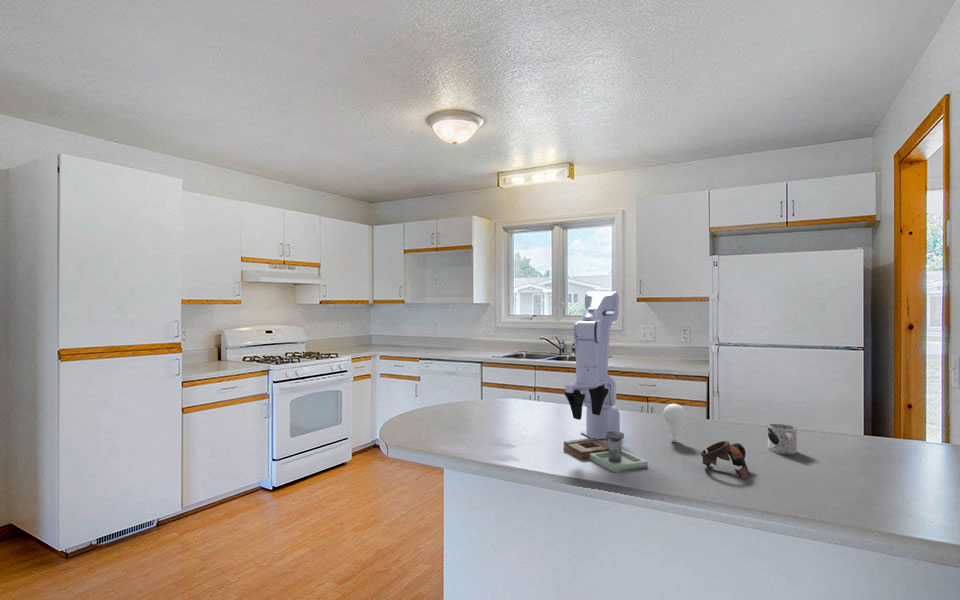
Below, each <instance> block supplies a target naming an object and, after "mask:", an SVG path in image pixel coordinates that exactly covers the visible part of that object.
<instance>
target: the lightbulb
mask: <svg viewBox="0 0 960 600" xmlns="http://www.w3.org/2000/svg"><path fill="white" fill-rule="evenodd" d="M686 417H687V412H686V409H684V407H682V406H681V405H680V404H677V403H670V404H668V405H666V406H665V407H664V409H663V419H664V421H665V422H666V424H667V428H668V433H669V440H670V441H672V442H673V443H676V442H678V441H680V434H681V430H682V427H683V426H682V425H684V422H685V420H686V419H687V418H686Z"/></svg>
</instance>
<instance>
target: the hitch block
mask: <svg viewBox="0 0 960 600" xmlns="http://www.w3.org/2000/svg"><path fill="white" fill-rule="evenodd" d="M563 450H564V451H565V452H567V453H569V454H571V455H573V456H574V457H577V458H578V459H580V460H581V461H583V460H590V454H591V453H599V452H607V451H608V444H607V443H605V442H602V441H600V439H597V438H590V437H588V438H579V439H573V440H572V439H571V440H564V441H563Z"/></svg>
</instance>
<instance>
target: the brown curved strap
mask: <svg viewBox="0 0 960 600" xmlns="http://www.w3.org/2000/svg"><path fill="white" fill-rule="evenodd" d="M746 453H747V452H746V448H745V447H744V446H743V445H742V444H741V443H739V442H735V443H733V444H731V443H730V442H729V441H728V440H722V441H718V442H716V443H714V444H713V443H712V444H711V445H709V446H708V447H706V449H703V450H702V451H701V452H700V455H701V458H702V459H701V460H702V461H701V463H702V464H703V465H705V466H706V467H708V468H709V467H710V466H711V464H712V465H713V466H717V459H718V458H719V460H725V461H727V462H729V461H731V462H732V465H733V466H737V467H738V468H739V467H740V468H739V469H738V473H739V474H740V476H741V479H742V480H744V479H746V478H747V477H749V475H750V472H749V468H748V466H747V463H746Z"/></svg>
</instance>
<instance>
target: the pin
mask: <svg viewBox="0 0 960 600" xmlns="http://www.w3.org/2000/svg"><path fill="white" fill-rule="evenodd" d="M606 437H607V438H606V439H607V443H608V444H607V445H608V461H610V462H613V463H620V462H621V461H622V455H621V450H622V440H623V439H624V438H625V434H624V433H623V432H621V431H620V432H616V431H609V432H606Z"/></svg>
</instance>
